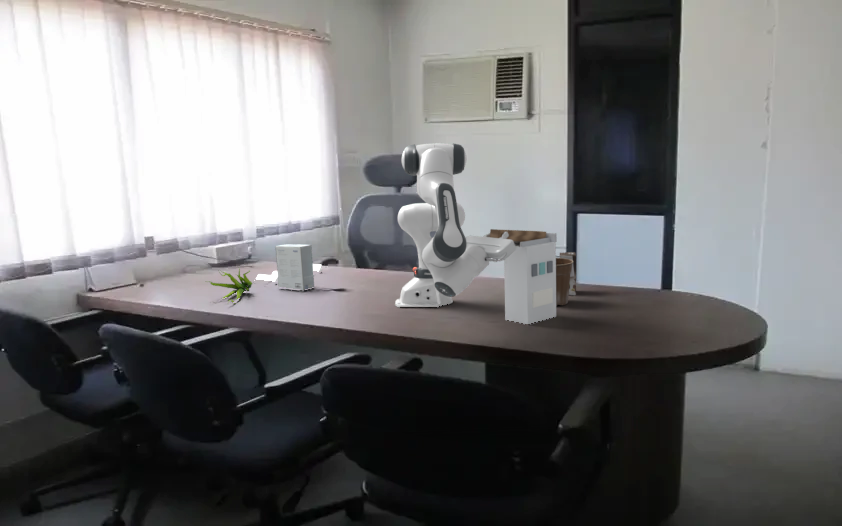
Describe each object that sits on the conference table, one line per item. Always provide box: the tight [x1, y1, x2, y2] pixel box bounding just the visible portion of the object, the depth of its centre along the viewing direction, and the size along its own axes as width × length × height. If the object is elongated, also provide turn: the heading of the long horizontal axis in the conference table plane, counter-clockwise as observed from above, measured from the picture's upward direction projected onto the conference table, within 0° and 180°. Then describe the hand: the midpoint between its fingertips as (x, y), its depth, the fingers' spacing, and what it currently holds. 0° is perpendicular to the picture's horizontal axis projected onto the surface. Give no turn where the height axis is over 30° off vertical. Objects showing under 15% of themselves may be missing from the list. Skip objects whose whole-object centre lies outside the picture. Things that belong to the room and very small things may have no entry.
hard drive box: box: [274, 243, 315, 290], centre depth 298 cm, size 16×8×20 cm, turn 58°
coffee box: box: [559, 251, 577, 296], centre depth 267 cm, size 9×6×16 cm
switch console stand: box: [503, 232, 558, 325], centre depth 227 cm, size 16×10×29 cm
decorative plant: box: [205, 266, 253, 304], centre depth 279 cm, size 18×30×15 cm, turn 155°
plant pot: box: [556, 257, 573, 307], centre depth 251 cm, size 16×16×16 cm
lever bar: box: [489, 228, 547, 241], centre depth 222 cm, size 24×4×4 cm, turn 131°
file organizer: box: [255, 263, 323, 282], centre depth 329 cm, size 13×35×5 cm, turn 147°
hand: (500, 232), depth 216 cm, fingers closed on lever bar, 3 cm apart
